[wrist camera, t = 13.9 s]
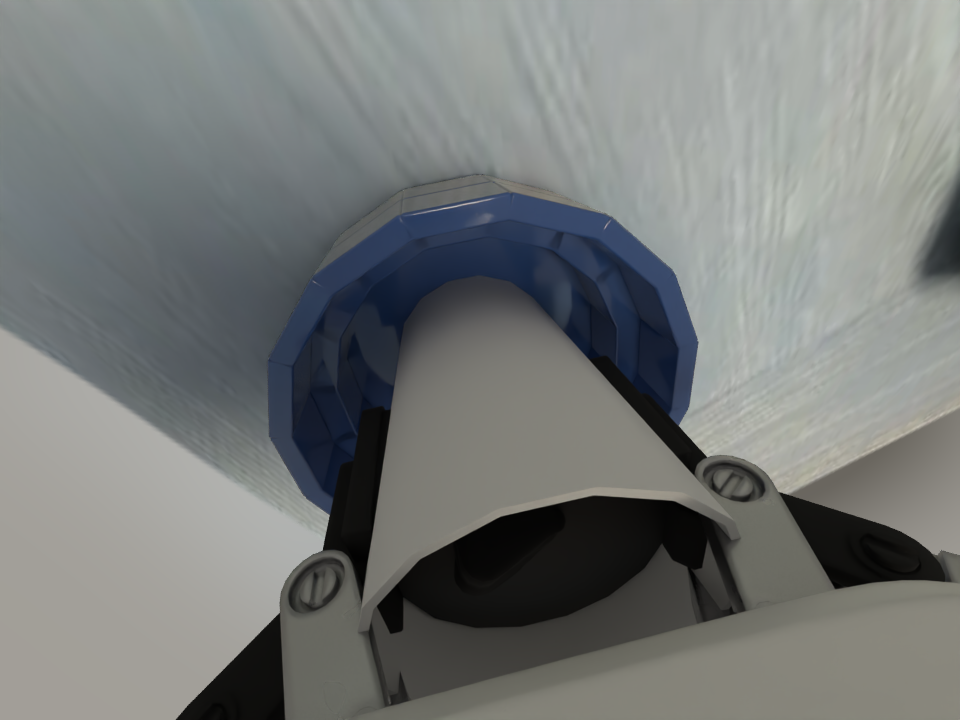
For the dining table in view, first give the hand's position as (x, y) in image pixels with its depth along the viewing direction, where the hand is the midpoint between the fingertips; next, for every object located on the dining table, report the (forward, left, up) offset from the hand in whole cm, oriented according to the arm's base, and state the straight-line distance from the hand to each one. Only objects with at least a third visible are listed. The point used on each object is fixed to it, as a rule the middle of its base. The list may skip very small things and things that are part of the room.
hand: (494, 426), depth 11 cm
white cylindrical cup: (0, 0, -5) cm, 5 cm away
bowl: (0, 0, -5) cm, 5 cm away
